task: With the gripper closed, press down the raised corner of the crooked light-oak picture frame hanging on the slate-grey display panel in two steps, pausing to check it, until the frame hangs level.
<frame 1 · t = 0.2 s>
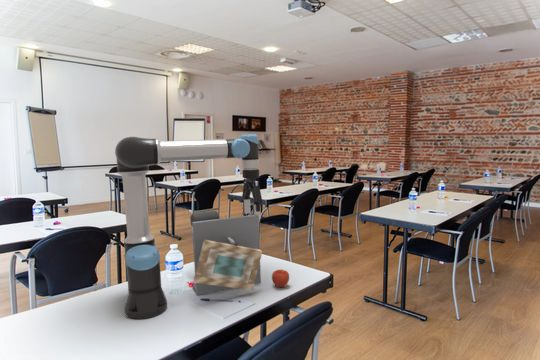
hand: (252, 215, 166), 28 cm above the table, fingers open, 13 cm apart
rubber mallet: (207, 274, 173), on the table
frame: (229, 263, 143), point 14 cm above the table, hinge at 18.0°
display panel: (229, 287, 155), on the table
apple: (280, 287, 155), on the table
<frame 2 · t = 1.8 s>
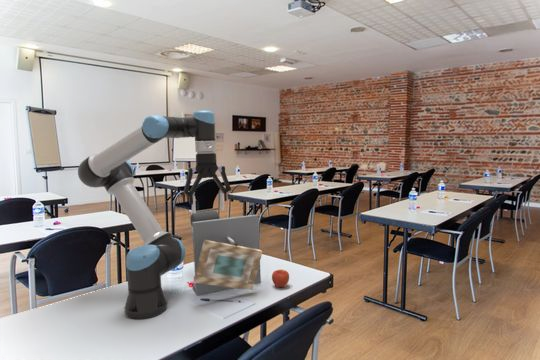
hand: (208, 211, 139), 36 cm above the table, fingers open, 10 cm apart
nothing on the table moved.
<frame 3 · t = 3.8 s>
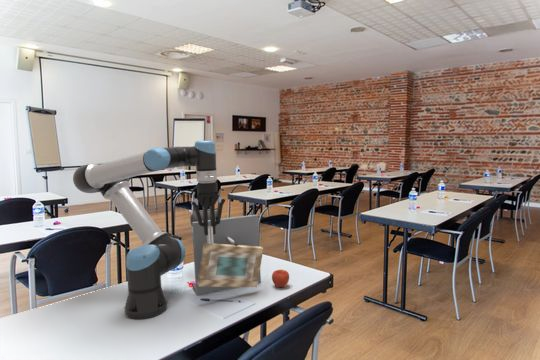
hand: (210, 243, 140), 23 cm above the table, fingers closed
frame: (231, 263, 144), point 14 cm above the table, hinge at 11.9°, touching gripper
everything else where it was.
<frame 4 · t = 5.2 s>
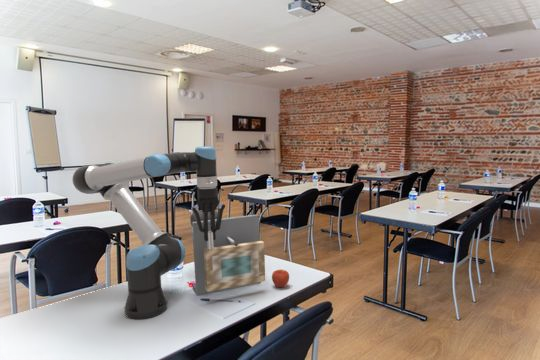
hand: (210, 248, 140), 21 cm above the table, fingers closed
frame: (235, 263, 144), point 14 cm above the table, hinge at 0.3°, touching gripper
everything else where it was.
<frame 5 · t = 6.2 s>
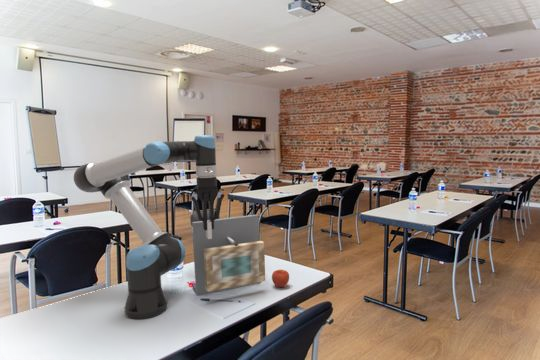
hand: (209, 237, 140), 25 cm above the table, fingers closed
frame: (235, 263, 144), point 14 cm above the table, hinge at 0.3°
everything else where it was.
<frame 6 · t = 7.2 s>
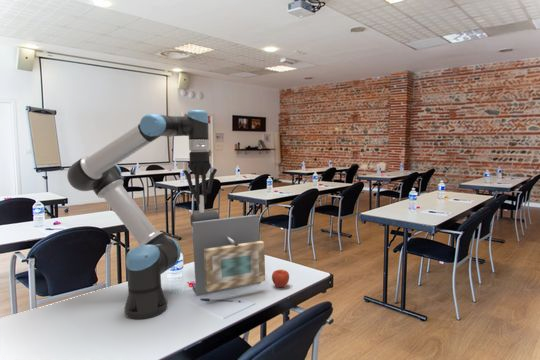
hand: (201, 211, 142), 35 cm above the table, fingers closed
nothing on the table moved.
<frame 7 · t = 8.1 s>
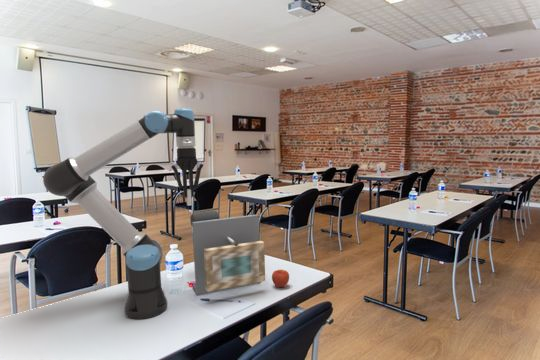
hand: (189, 205, 150), 36 cm above the table, fingers closed
nothing on the table moved.
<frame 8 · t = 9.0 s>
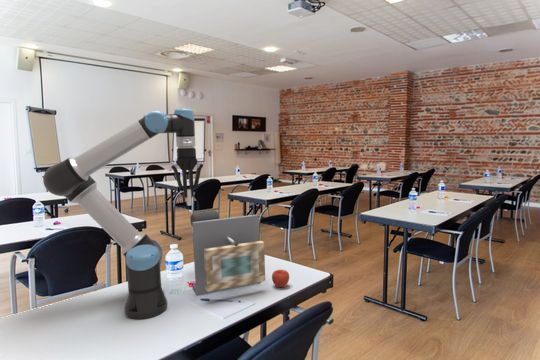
hand: (189, 205, 150), 36 cm above the table, fingers closed
nothing on the table moved.
at the end: frame at +0° (first picture: +18°) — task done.
